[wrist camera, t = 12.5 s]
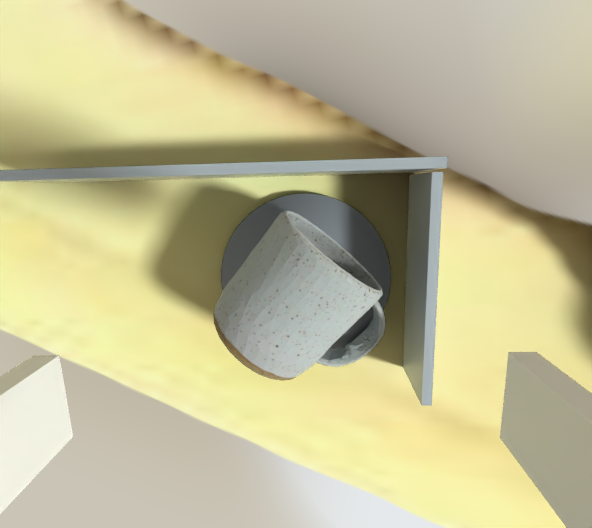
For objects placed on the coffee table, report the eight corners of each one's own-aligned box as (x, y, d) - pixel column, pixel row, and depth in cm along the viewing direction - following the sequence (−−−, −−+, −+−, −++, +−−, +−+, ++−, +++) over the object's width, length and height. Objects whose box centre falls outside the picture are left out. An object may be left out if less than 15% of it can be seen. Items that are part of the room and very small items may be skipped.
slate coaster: (228, 355, 28) (226, 358, 28) (217, 195, 26) (215, 195, 25) (387, 354, 28) (388, 358, 27) (390, 191, 25) (392, 191, 25)
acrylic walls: (78, 367, 29) (31, 402, 24) (49, 174, 26) (-12, 170, 21) (414, 367, 28) (434, 405, 23) (422, 162, 25) (447, 156, 20)
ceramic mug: (220, 294, 27) (184, 337, 19) (288, 203, 25) (279, 212, 18) (335, 378, 28) (344, 450, 20) (407, 296, 26) (446, 341, 19)
